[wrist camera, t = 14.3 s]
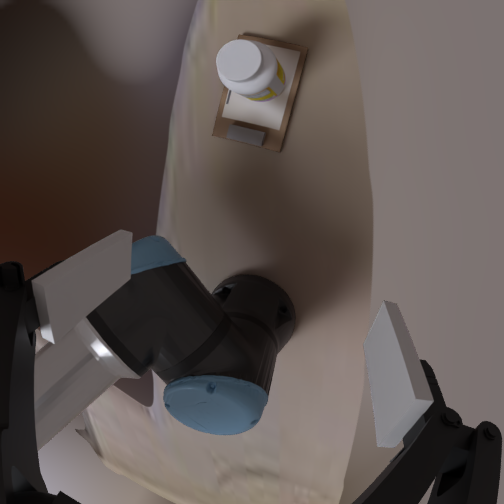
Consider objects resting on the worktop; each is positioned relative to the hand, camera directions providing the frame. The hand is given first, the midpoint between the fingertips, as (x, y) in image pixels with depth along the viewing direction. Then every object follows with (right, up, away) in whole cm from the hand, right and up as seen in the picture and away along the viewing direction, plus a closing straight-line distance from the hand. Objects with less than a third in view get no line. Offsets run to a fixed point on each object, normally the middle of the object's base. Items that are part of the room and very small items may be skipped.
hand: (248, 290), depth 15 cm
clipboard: (+1, +24, +24) cm, 34 cm away
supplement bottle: (+2, +25, +23) cm, 34 cm away
